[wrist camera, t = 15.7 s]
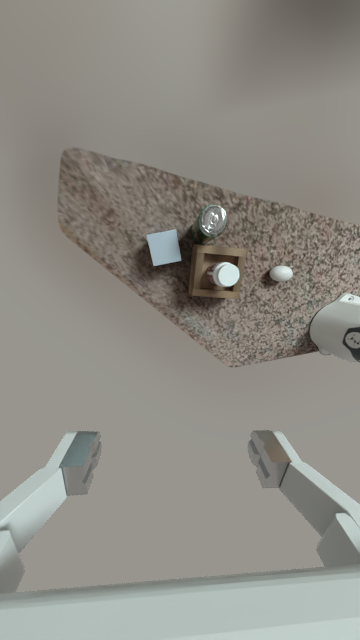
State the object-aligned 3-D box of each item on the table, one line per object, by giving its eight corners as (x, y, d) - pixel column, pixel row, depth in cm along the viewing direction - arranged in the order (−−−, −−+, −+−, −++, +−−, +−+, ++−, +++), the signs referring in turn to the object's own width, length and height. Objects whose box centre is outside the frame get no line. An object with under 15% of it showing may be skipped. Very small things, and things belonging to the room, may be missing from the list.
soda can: (215, 225, 40) (234, 210, 28) (206, 247, 41) (221, 241, 30) (195, 216, 39) (206, 196, 27) (187, 239, 40) (194, 229, 29)
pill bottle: (225, 284, 40) (239, 289, 32) (205, 283, 40) (214, 288, 32) (228, 262, 39) (243, 262, 31) (207, 262, 38) (217, 261, 30)
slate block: (174, 234, 40) (175, 229, 34) (179, 261, 42) (181, 260, 36) (149, 239, 40) (146, 235, 34) (155, 265, 42) (153, 266, 36)
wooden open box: (236, 250, 42) (248, 248, 35) (229, 295, 45) (239, 300, 39) (192, 246, 41) (196, 242, 34) (188, 292, 44) (191, 296, 38)
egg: (284, 282, 45) (294, 283, 41) (263, 279, 44) (271, 280, 41) (289, 267, 44) (300, 267, 40) (267, 264, 43) (276, 264, 40)
